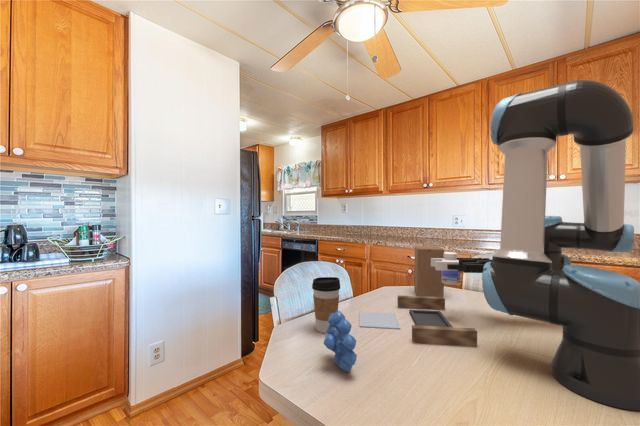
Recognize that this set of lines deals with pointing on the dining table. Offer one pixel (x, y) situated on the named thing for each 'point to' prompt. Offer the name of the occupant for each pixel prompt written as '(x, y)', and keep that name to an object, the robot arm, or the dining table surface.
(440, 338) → the walnut lane walls
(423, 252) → the wooden block
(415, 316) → the tray
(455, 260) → the pill bottle
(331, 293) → the coffee cup
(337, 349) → the grapes
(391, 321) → the pad
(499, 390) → the dining table surface
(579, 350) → the robot arm
